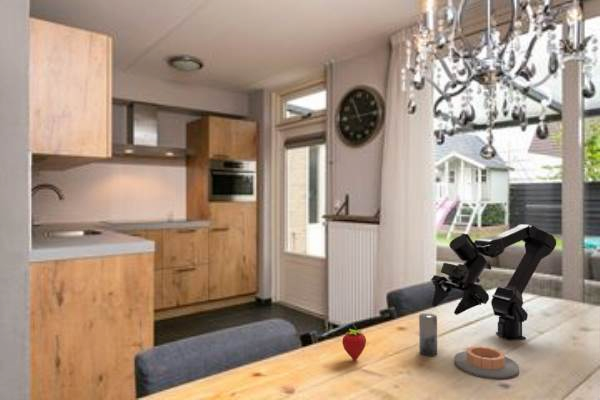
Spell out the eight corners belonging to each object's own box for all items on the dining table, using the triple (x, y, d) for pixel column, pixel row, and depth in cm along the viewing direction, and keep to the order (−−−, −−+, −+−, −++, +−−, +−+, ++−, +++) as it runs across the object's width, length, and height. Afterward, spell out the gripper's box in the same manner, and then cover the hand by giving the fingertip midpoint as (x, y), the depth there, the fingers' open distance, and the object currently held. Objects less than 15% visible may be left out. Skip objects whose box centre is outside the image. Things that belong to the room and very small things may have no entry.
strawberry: (337, 360, 111) (337, 325, 111) (356, 353, 116) (355, 319, 116) (352, 366, 106) (352, 330, 106) (371, 359, 111) (370, 324, 111)
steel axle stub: (432, 349, 118) (431, 313, 118) (440, 355, 113) (440, 317, 113) (416, 350, 118) (416, 314, 118) (424, 356, 113) (424, 318, 113)
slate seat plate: (493, 352, 115) (493, 340, 115) (533, 376, 100) (533, 362, 100) (443, 356, 113) (442, 344, 113) (476, 381, 97) (476, 367, 97)
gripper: (435, 250, 129) (408, 286, 124) (481, 257, 111) (452, 300, 107) (453, 272, 132) (428, 308, 127) (501, 282, 114) (473, 325, 110)
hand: (443, 309), depth 118 cm, fingers open, 9 cm apart
